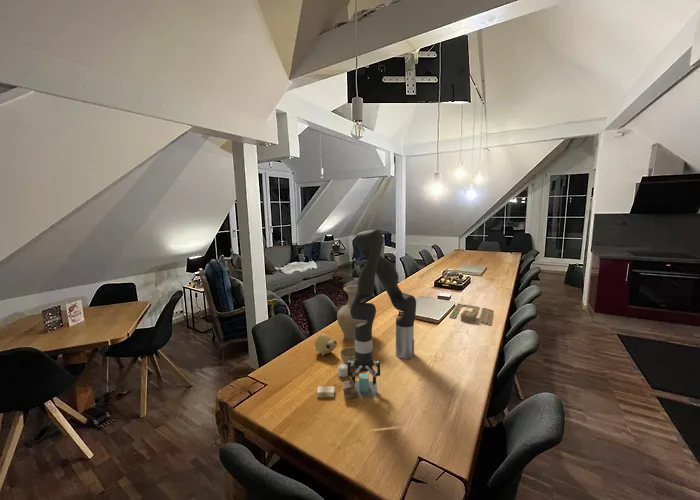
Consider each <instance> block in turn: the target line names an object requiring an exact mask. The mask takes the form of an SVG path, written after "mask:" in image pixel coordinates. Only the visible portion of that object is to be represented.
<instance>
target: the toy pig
mask: <svg viewBox="0 0 700 500" xmlns="http://www.w3.org/2000/svg"><path fill="white" fill-rule="evenodd" d="M337 343H338V342H337V341H336V340H334V339H332V337H330V336H328V335H327V334H325V333H322V334H319V335H318V336H317V337H316V339H315V341H314V347H315V351H316V352H318V353H320V354H321V356H322V357H324V356H325V355H327V354H330V353H331V352H332V351H333V350H334V349H336V348H337Z"/></svg>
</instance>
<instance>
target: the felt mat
mask: <svg viewBox="0 0 700 500" xmlns="http://www.w3.org/2000/svg"><path fill="white" fill-rule="evenodd" d="M377 383H378V382H377V381H376V384H375V385H373V381H371V380H370V381H369V392H359V380H357V381H356V380H355V388H356V393H357V397H356V398H378V385H377Z"/></svg>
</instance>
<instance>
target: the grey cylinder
mask: <svg viewBox="0 0 700 500" xmlns="http://www.w3.org/2000/svg"><path fill="white" fill-rule="evenodd" d="M347 373H348V365H346V364H344V363H341V364H339V365H338V368H337V375H338V377H340V378H346V377H348V374H347Z"/></svg>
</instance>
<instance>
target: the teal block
mask: <svg viewBox="0 0 700 500" xmlns="http://www.w3.org/2000/svg"><path fill="white" fill-rule="evenodd" d="M358 373H359V372H358ZM369 374H370V373H364V372H363V373H362V372H361V373H359V374H358V375H359V377H358V381H359V392H369V380H370V379H369V377H370V376H369Z"/></svg>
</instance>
